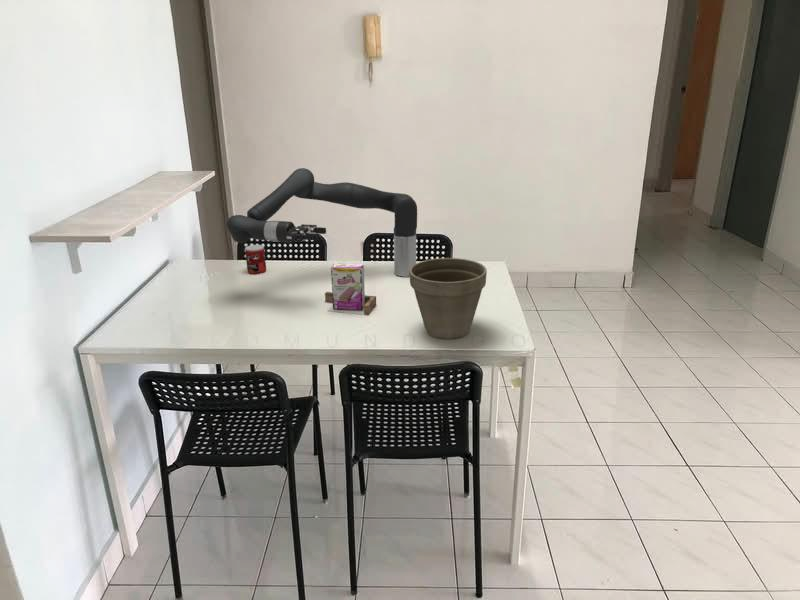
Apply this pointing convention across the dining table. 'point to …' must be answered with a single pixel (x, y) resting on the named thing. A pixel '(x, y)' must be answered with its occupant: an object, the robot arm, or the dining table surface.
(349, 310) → the pad
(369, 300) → the brown l-shaped piece
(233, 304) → the dining table surface
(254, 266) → the canned food
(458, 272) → the plant pot
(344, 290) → the candy bar box
